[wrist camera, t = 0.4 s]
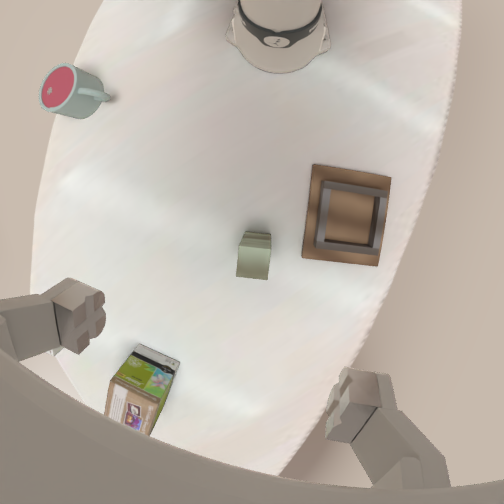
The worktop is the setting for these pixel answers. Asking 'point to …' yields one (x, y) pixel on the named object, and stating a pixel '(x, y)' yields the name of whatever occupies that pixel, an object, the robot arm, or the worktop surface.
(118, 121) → the worktop surface
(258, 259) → the green peg
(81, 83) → the mug
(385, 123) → the worktop surface
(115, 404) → the tea box
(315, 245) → the display stand
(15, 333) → the robot arm
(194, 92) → the worktop surface
